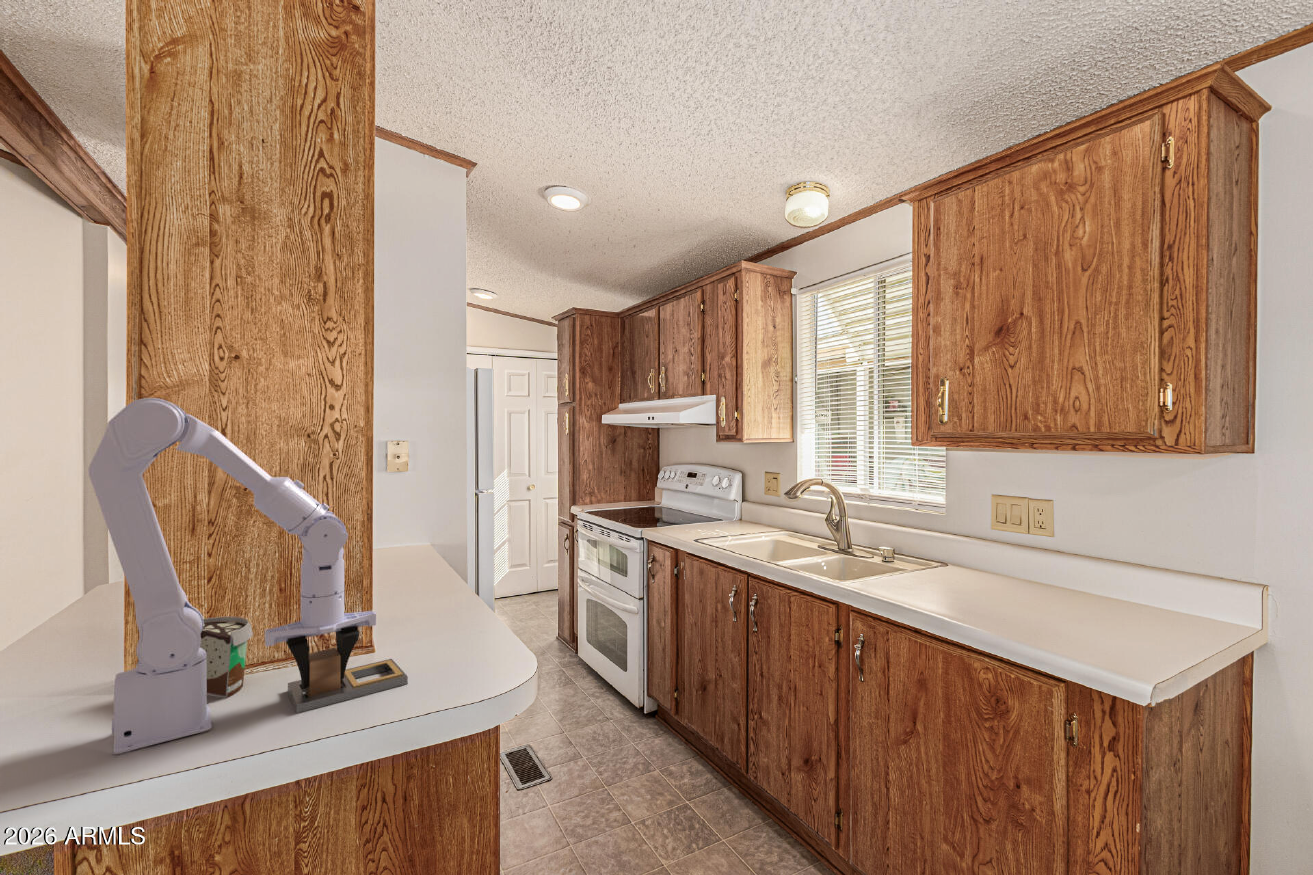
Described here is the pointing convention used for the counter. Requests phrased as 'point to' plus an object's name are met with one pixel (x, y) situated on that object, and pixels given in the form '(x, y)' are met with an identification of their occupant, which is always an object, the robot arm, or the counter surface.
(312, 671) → the brown wooden block
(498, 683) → the counter surface
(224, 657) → the food container
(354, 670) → the grey slotted tray
